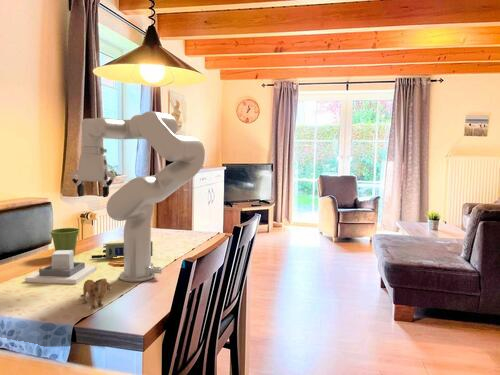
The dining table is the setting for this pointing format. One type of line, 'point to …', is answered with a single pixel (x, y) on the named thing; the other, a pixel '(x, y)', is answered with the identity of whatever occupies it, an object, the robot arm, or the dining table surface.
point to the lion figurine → (96, 291)
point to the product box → (63, 260)
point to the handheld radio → (113, 250)
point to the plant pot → (65, 238)
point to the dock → (62, 274)
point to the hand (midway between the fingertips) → (93, 196)
